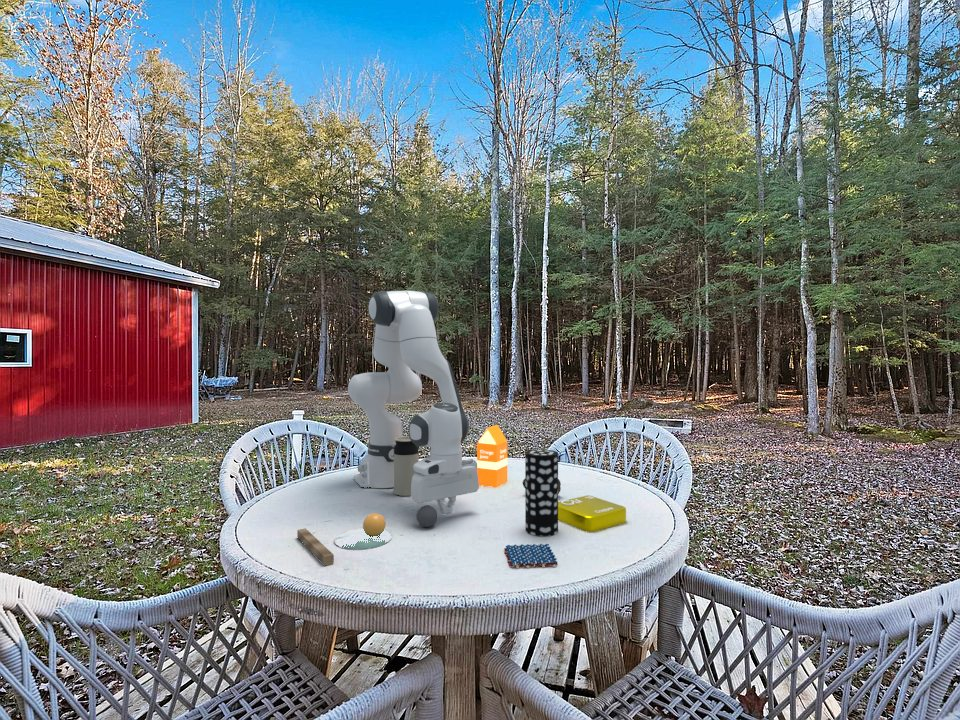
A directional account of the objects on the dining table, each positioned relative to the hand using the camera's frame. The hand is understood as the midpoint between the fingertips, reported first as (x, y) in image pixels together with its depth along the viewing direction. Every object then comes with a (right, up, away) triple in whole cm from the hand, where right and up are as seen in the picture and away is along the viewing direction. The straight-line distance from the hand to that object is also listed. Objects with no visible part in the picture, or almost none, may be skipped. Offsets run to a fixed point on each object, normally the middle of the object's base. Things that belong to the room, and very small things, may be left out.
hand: (446, 513), depth 135 cm
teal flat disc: (-19, -2, -14) cm, 24 cm away
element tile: (+39, -2, -1) cm, 39 cm away
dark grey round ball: (-5, +1, -6) cm, 8 cm away
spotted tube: (+25, -2, -9) cm, 27 cm away
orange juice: (+14, -1, +37) cm, 40 cm away
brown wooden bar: (-29, -2, -21) cm, 36 cm away
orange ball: (-17, +1, -12) cm, 21 cm away
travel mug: (-15, -2, +25) cm, 29 cm away
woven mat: (+20, -3, -26) cm, 33 cm away
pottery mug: (+29, -2, +21) cm, 36 cm away
